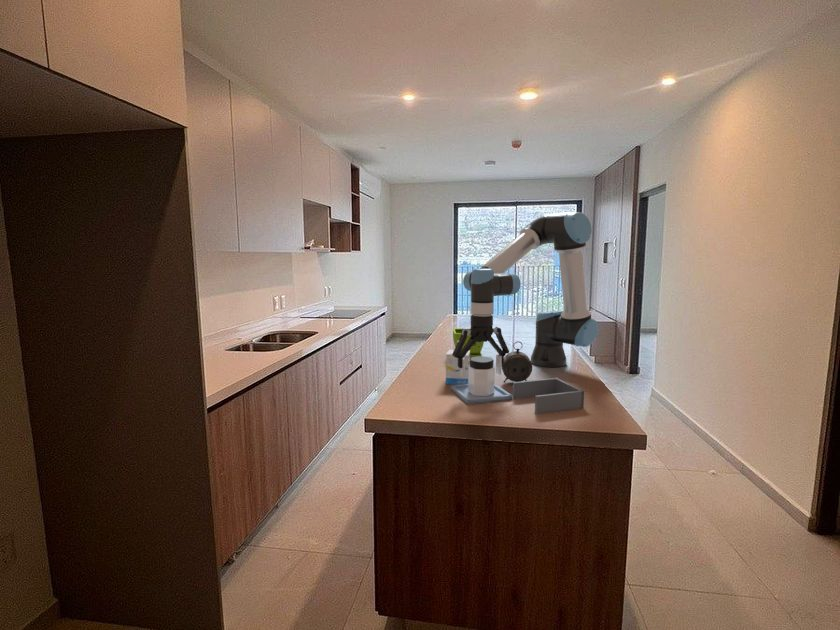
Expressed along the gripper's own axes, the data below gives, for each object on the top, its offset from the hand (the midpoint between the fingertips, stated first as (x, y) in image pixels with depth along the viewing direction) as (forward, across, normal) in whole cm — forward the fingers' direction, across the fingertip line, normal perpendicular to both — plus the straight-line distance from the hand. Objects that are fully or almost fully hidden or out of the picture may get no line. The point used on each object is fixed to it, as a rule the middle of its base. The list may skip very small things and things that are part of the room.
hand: (480, 375), depth 150 cm
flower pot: (+7, -16, -49) cm, 52 cm away
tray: (+7, 0, 0) cm, 7 cm away
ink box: (+7, +2, -16) cm, 18 cm away
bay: (+7, -17, +14) cm, 23 cm away
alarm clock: (+7, -18, -7) cm, 21 cm away
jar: (+7, 0, 0) cm, 7 cm away
